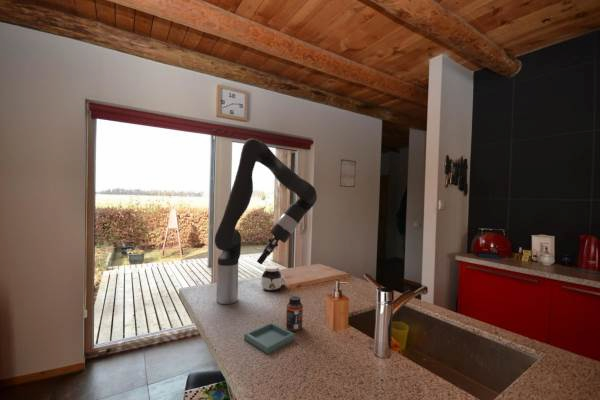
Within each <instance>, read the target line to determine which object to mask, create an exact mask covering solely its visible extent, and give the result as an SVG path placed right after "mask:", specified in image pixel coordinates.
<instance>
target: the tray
mask: <svg viewBox="0 0 600 400" xmlns="http://www.w3.org/2000/svg"><path fill="white" fill-rule="evenodd" d="M243 334H244V337H243V339H244V341H245V342H247V343H248V344H249V345H251V346H252V347H254V348H256V349H258V350H260V351H261V352H263V353H264V354H266V355H267V356H268V355H269V354H271V353H273V352H276V351H278V350H279V349H280V348H283V347H284V346H287V345H288V344H290V343H292V342H295V341H296V340H295V339H296V334H295V333H294V332H293V331H290V330H288V329H287V328H284V327H282V326H280V325H278V324H276V323H274V322H272V321H270V322H268V323H266V324H263V325H261V326H259V327H257V328H254V329H252V330H250V331H248V332H245V333H243Z"/></svg>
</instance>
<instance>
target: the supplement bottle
mask: <svg viewBox="0 0 600 400" xmlns="http://www.w3.org/2000/svg"><path fill="white" fill-rule="evenodd" d="M302 303H303V302H301V297H300V296H298V295H293V296H289V302H288V303H287V304H286V322H285V325H286V328H285V329H286V330H288V331H290V332H299V331H301V330H302V329H303V316H304V315H303V311H304V309H303V307H304V306H303V304H302Z"/></svg>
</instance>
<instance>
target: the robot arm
mask: <svg viewBox="0 0 600 400" xmlns="http://www.w3.org/2000/svg"><path fill="white" fill-rule="evenodd" d="M256 163H260V164H262V165H263V166H264V167H266V168H267V169H268V170H269V171H270V172H271V173H272V174H273V175H274V177H275V179H276V180H277V181H279V183H280V184H281V185H282V186H284V187H285V188H286V189H288V190H289V191H291V192H293V193H294V194H296V196H298V198H297V200H296V201H295V202H294V203H291V204H290V205H288V207H287V209H286V210H285V212H284V213H283V214H282V215H281V216H280V217H279V218H278V220H277V221H276V223H275V224H274V225H273V227H272V228H271V230H270V231H269V233H270V234H271V235H272V236H273V238H270V239H268V241H267V243H266V245H265V246H264V249H263V251H262V253H261V254H260V256H259V257H258V259H257V260H256V262H257V263H258V264H260V265H263V263H264V262H265V261H266V259H267V258H268V257H269V256H270V255H271V254H272V253H273V252H274V251H275V249H277V248H278V246H279V241H281V242H282V243H283V244H284V243H285V244H286V243H287V241H288V240H289V238H290V237H291V235H292V234H293V233H294V231H295V230H296V228H297V227H298V224H300V222H301V220H302V219H303V217H304V216H305V215H306V214H307V213H308V212H309V211H310V210H311V209H312V208H313V207H314V205H315V204H316V202H317V199H318V198H317V197H318V195H317V191H316V188H315V187H314V186H313V185H312V184H311V183H310V182H308V181H307V180H305V179H303V178H301V177H300V176H299V175H298V174H297V173H295V172H294V171H293V170H292V169H291V168H290V167H288V166H287V165H286V164H284V162H283V161H281V160H280V158H278V157H277V156H276V155H275V154H274V153H273V151H272V150H271V149H270V148H269V147H268V146H267V144H266V143H265V142H263V141H262V140H261V141H260V140H258V139H256V138H249V139H246V141H245V142H244V144H243V146H242V148H241V152H240V159H239V164H238V167H237V170H236V171H237V172H236V175H235V178H234V182H233V184H232V187H231V191H230V194H229V197H228V200H227V204H226V206H225V209H224V213H223V217H222V218H221V222H220V223H219V226H218V228H217V230H216V233H215V235H214V236H215V237H214V244H215V245H214V246H215V247H216V248H217V249H218V250H220V251H222V252H221V254H220V255H219V256H218V257H217V279H216V297H215V299H216V301H217V303H218V304H220V305H231V304H234V303H236V302H237V301H238V298H239V297H238V296H239V259H240V257H241V250H242V249H241V247H242V236H241V233H240V231H239V230H238V229H237V224H238V222H239V220H240V219H241V218H242V216H243V214H244V213H245V212H246V210H247V208H249V205H250V202H251V201H252V200H251V199H252V195H253V192H254V184H253V183H254V181H253V173H254V168H255V165H256Z"/></svg>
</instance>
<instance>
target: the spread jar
mask: <svg viewBox="0 0 600 400" xmlns="http://www.w3.org/2000/svg"><path fill="white" fill-rule="evenodd" d="M279 269H280V268H279V266H278V265H267V266H265V269H264V272H263V273H262V275H261V287H262V289H263V290H264V291H265V292H277V291H278V290H279V289H280V288H281V282H284V283H285V282H287V279H286V277H285V276H284V275H283V274H282V273H281V272H280V270H279Z"/></svg>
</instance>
